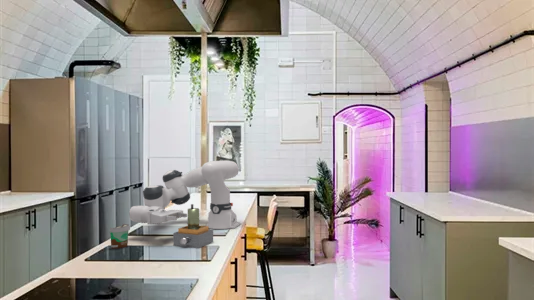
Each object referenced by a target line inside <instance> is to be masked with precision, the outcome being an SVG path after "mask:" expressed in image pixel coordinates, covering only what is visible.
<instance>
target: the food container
mask: <svg viewBox="0 0 534 300" xmlns="http://www.w3.org/2000/svg"><path fill="white" fill-rule="evenodd" d="M130 230H131V228H130V225H129V223H122V224H121V225H120V226H115V227H110V228H109V235H110V249H111V250H112V249H113V250H117V249H118V250H119V249H125V248H127V247H128V243H129V232H130Z"/></svg>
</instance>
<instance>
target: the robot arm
mask: <svg viewBox="0 0 534 300" xmlns="http://www.w3.org/2000/svg"><path fill="white" fill-rule="evenodd" d="M238 174H239V166H238V164H237V163H236V162H235V161H232V160H228V159H227V160H211V161H207V162H204V163H203V164H202V166H199V167H197V168H194V169H191V170H190V171H188V172H187V173H184V174H183V172H182V171H179V170H176V169H171V170H169V171H166V172H165V173H164V174H163V175H162V181H163V183H164V185H165V187H164V185H161V184H160V185H148V186H146V187H145V188H144V189H143V191H142V195H143V203H144V204H143V205H133V206H131V207H130V209H129V212H128V214H129V219H130V221H132V222H135V223H140V224H147V225H161V224H163V223H167V222H169V221H177V219H180V218H188V213H185V212H184V210H182V209H168V210H166V209H165V208H167V207H168V206H169V205H170V204H174V205H178V206H181V205H184V204H186V203H187V202H188V201H189V200H190V199H191V193H190V192H189V190H188V188H190V189H193V188H198V187H202V186H205V185H208V186H209V189H210V203H209V204H210V205H209V209H210V210H209V212H208V216H207V224H205V226H208V228H209V229H211V230H213V229H214V230H227V229H236V228H237V227H238V226H240V225H241V222H239V221H237V218H238V217H237V214H236V213H235V211H233V210H232V207H233V206H234V203H233V202H231V191H230V189H229V187H228V186H226V183H225V181H226V180H229V179H232V178H235V177H236V176H238Z"/></svg>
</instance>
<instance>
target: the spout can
mask: <svg viewBox="0 0 534 300" xmlns="http://www.w3.org/2000/svg"><path fill="white" fill-rule="evenodd" d="M187 226H188V229H199V226H200V208H199V207H194V204H193V203H191V204H190V208H187Z"/></svg>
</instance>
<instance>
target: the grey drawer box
mask: <svg viewBox="0 0 534 300" xmlns="http://www.w3.org/2000/svg"><path fill="white" fill-rule="evenodd" d="M172 234H173V237H172V238H173V241H172V242H173V244H172V245H173V246H175V247H186V248H195V249H199V248H202V247H205V246H207V245H209V244H212V243H213V242H214V230H213V229H210V228H208V226H206V225H199V229H188V225H186V226H182V227H179V228H178V230H177V231H175V232H173V233H172Z"/></svg>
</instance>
